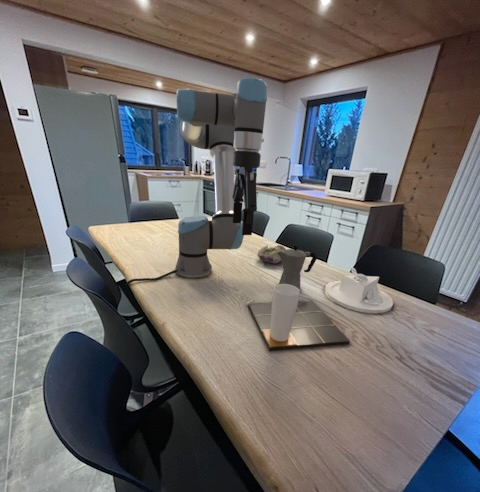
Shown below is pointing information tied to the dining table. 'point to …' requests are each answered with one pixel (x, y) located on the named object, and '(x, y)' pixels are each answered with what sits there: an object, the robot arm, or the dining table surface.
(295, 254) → the coffeepot
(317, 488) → the dining table surface
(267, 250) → the geode
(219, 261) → the dining table surface
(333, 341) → the board
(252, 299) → the dining table surface
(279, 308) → the drinking glass
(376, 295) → the dish
